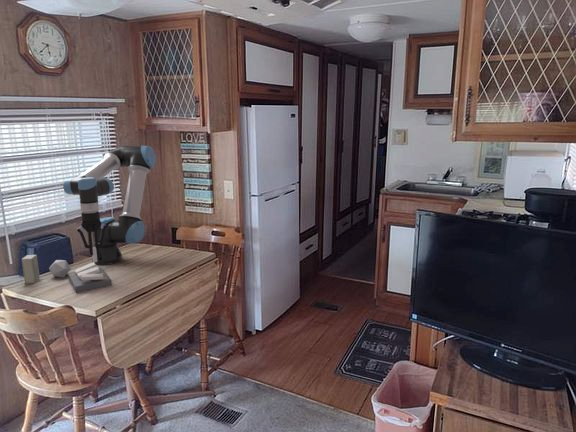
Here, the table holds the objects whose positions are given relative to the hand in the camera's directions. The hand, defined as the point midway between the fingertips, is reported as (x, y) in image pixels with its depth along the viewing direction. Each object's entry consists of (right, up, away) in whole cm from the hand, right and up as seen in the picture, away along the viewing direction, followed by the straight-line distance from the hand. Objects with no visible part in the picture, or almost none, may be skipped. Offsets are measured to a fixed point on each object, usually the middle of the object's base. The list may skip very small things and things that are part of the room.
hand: (95, 261), depth 202 cm
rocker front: (+1, -7, -6) cm, 9 cm away
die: (-21, -8, +9) cm, 24 cm away
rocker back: (-7, -5, +5) cm, 10 cm away
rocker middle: (-3, -6, 0) cm, 6 cm away
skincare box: (-31, -10, +3) cm, 32 cm away
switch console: (-3, -10, +1) cm, 10 cm away
